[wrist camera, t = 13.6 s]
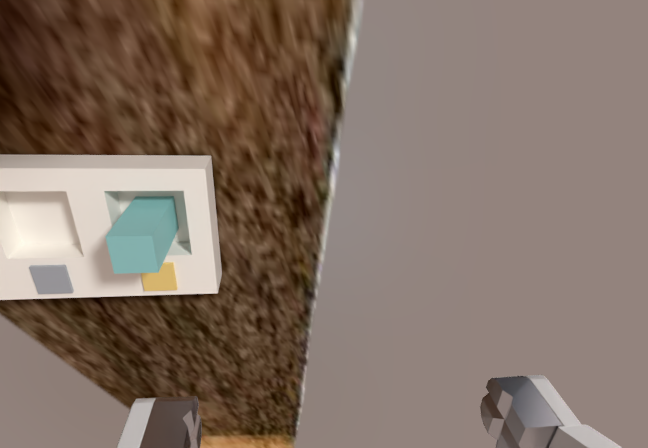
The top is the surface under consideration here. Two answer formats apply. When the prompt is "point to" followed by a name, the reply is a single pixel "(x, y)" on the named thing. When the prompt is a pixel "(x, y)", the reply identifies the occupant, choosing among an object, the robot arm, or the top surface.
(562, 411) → the robot arm
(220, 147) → the top surface
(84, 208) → the socket block
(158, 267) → the plug
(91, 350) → the top surface
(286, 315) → the top surface
